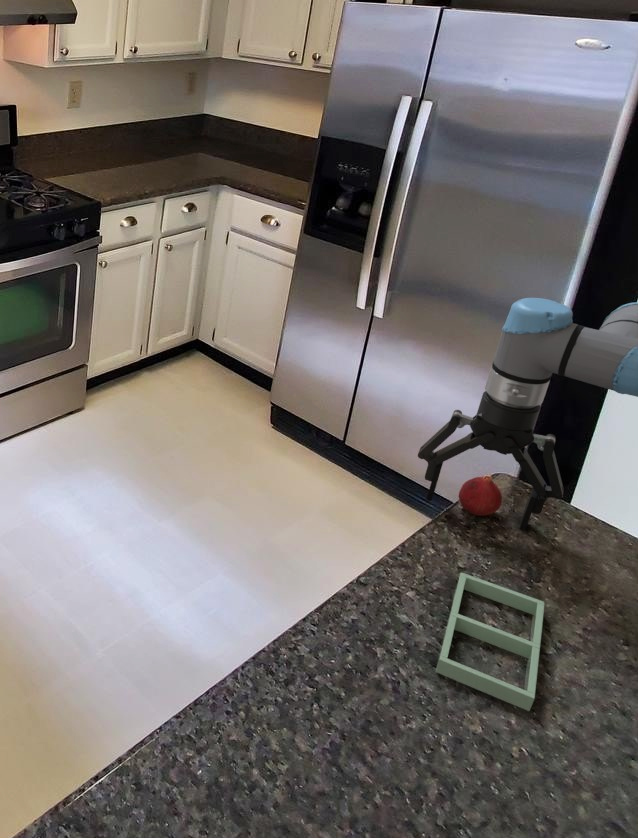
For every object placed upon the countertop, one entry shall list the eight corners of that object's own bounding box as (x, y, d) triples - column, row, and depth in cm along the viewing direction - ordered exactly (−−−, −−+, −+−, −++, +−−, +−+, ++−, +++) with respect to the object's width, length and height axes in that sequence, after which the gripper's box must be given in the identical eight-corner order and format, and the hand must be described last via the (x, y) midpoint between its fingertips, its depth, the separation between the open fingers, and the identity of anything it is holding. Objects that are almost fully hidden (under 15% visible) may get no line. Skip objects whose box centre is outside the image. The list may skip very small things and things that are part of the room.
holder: (455, 588, 115) (460, 571, 114) (538, 618, 110) (544, 601, 108) (433, 677, 101) (439, 659, 99) (527, 716, 95) (534, 698, 94)
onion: (459, 523, 128) (472, 482, 125) (449, 502, 133) (461, 462, 130) (500, 529, 127) (514, 487, 123) (488, 507, 132) (501, 467, 129)
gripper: (418, 384, 124) (388, 495, 134) (612, 433, 111) (564, 553, 120) (426, 366, 130) (397, 474, 139) (612, 411, 117) (566, 527, 126)
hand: (474, 511), depth 130 cm, fingers open, 12 cm apart
